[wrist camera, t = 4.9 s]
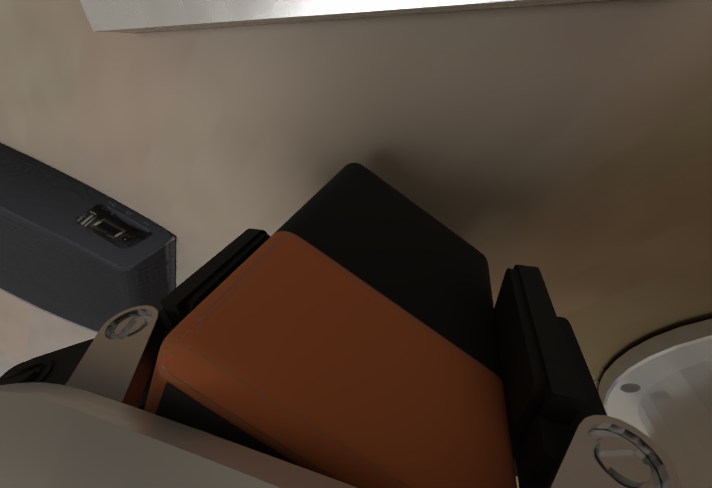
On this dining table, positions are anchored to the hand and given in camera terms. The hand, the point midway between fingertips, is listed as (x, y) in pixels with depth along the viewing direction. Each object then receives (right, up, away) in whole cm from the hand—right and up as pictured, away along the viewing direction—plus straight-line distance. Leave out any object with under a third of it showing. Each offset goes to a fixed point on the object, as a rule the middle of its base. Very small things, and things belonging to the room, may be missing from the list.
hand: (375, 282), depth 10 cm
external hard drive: (-24, +2, +14) cm, 28 cm away
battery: (+1, +2, +3) cm, 3 cm away
